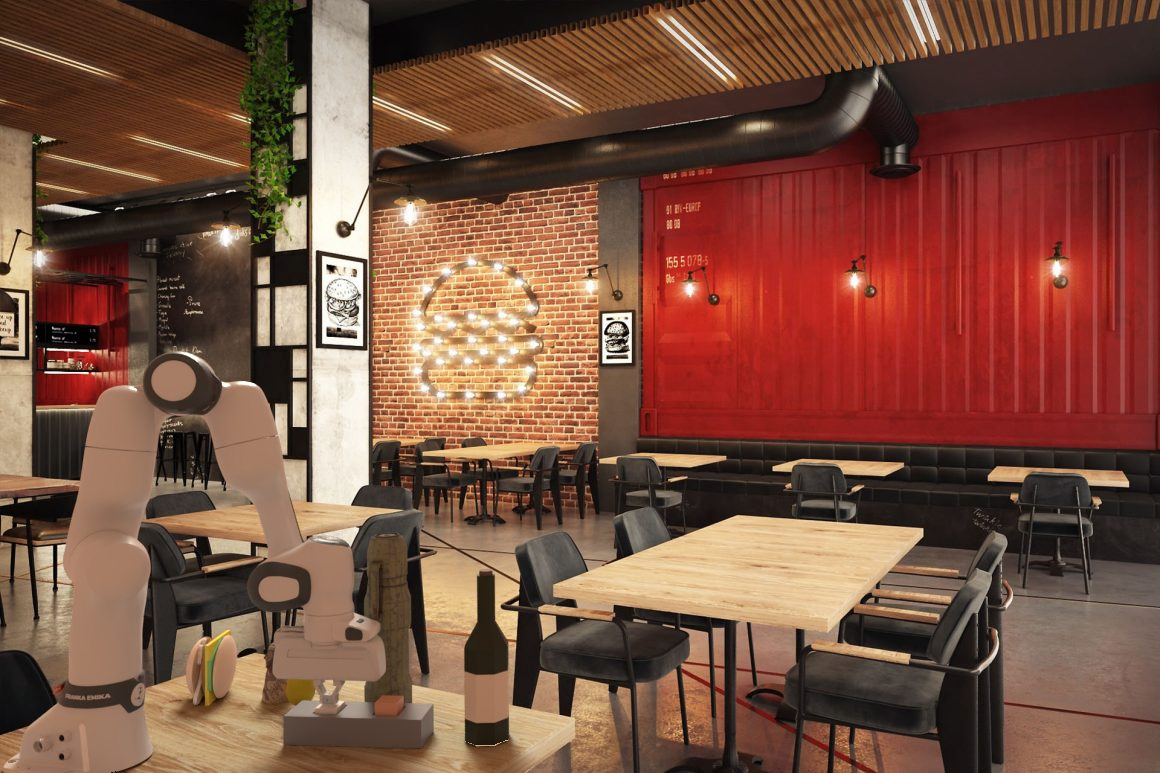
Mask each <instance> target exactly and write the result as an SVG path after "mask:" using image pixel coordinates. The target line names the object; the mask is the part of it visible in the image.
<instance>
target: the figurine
mask: <svg viewBox="0 0 1160 773" xmlns="http://www.w3.org/2000/svg"><path fill="white" fill-rule="evenodd" d="M274 652H275V646H274V641H273V642H272V643H271V644H270V645H269V647H268V649H267V652H266V654H265V655H264V657H263V660H265V669H266V673H265V677H264V685H263V689H262V692H261V693H262V695H261V701H263V702H264V703H266V704H282V703H287V702H289V700H288V698H287V695H286V686H287V681H288V679H277V678H276V677H275V676H274V674H273V658H274Z"/></svg>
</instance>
